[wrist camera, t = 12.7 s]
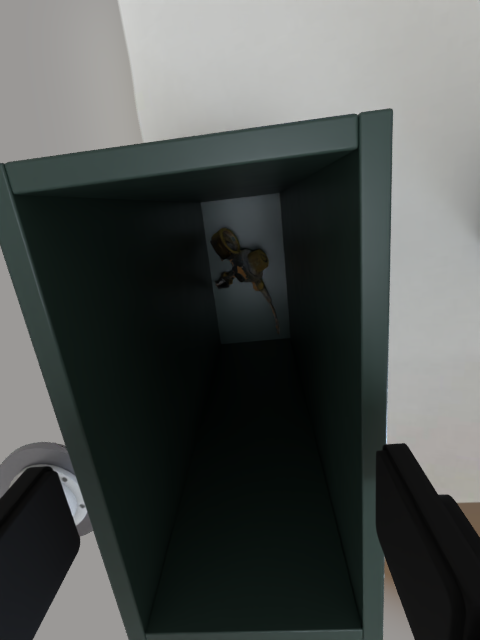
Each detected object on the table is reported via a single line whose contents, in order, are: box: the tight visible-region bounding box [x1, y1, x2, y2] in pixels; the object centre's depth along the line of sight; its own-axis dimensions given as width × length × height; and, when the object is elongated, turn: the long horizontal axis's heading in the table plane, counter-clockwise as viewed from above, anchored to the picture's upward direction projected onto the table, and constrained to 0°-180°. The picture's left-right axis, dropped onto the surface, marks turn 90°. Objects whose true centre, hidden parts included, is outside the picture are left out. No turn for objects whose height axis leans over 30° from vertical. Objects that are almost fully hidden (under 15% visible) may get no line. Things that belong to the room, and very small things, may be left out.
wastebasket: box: [0, 108, 393, 640], centre depth 27 cm, size 11×19×33 cm, turn 7°
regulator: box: [210, 228, 280, 334], centre depth 41 cm, size 8×4×15 cm
